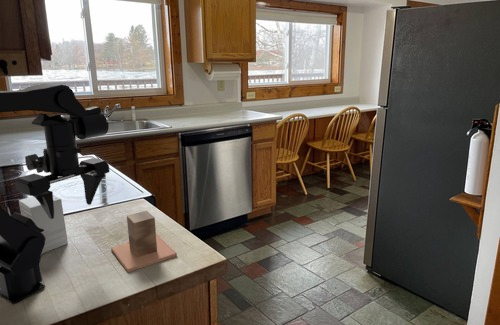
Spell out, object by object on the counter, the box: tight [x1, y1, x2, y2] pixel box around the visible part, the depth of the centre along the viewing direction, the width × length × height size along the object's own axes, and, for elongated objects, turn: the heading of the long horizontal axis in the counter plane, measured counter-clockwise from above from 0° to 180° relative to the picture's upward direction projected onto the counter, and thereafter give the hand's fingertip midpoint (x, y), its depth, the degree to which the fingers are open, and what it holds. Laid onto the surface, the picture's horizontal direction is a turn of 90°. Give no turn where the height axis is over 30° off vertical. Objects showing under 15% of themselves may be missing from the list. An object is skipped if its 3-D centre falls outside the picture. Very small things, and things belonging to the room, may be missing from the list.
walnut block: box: [126, 210, 157, 258], centre depth 89 cm, size 5×5×9 cm
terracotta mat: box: [110, 233, 178, 273], centre depth 91 cm, size 12×12×1 cm
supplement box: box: [18, 194, 69, 254], centre depth 93 cm, size 7×7×13 cm
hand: (71, 211), depth 83 cm, fingers open, 9 cm apart
